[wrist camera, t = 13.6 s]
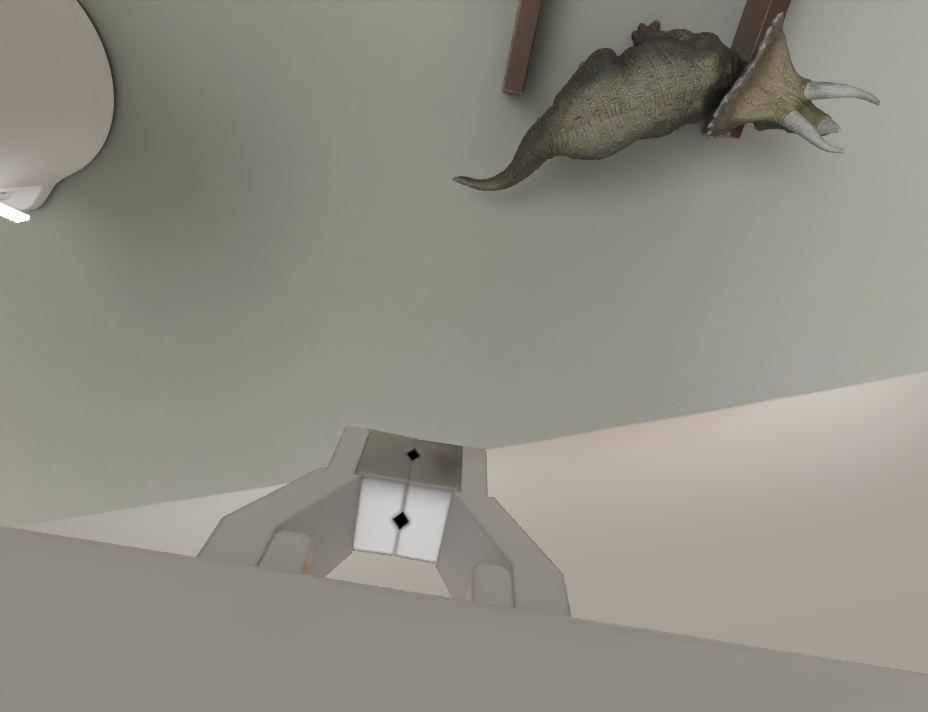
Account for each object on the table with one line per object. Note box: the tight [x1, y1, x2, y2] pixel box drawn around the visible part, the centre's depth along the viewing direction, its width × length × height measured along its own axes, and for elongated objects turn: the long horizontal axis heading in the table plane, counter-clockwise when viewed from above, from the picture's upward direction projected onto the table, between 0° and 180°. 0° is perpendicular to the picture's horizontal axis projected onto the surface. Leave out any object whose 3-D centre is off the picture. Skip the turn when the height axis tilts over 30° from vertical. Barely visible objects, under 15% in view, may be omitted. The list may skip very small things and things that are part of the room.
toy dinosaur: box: [452, 12, 881, 191], centre depth 31 cm, size 22×8×11 cm, turn 99°
